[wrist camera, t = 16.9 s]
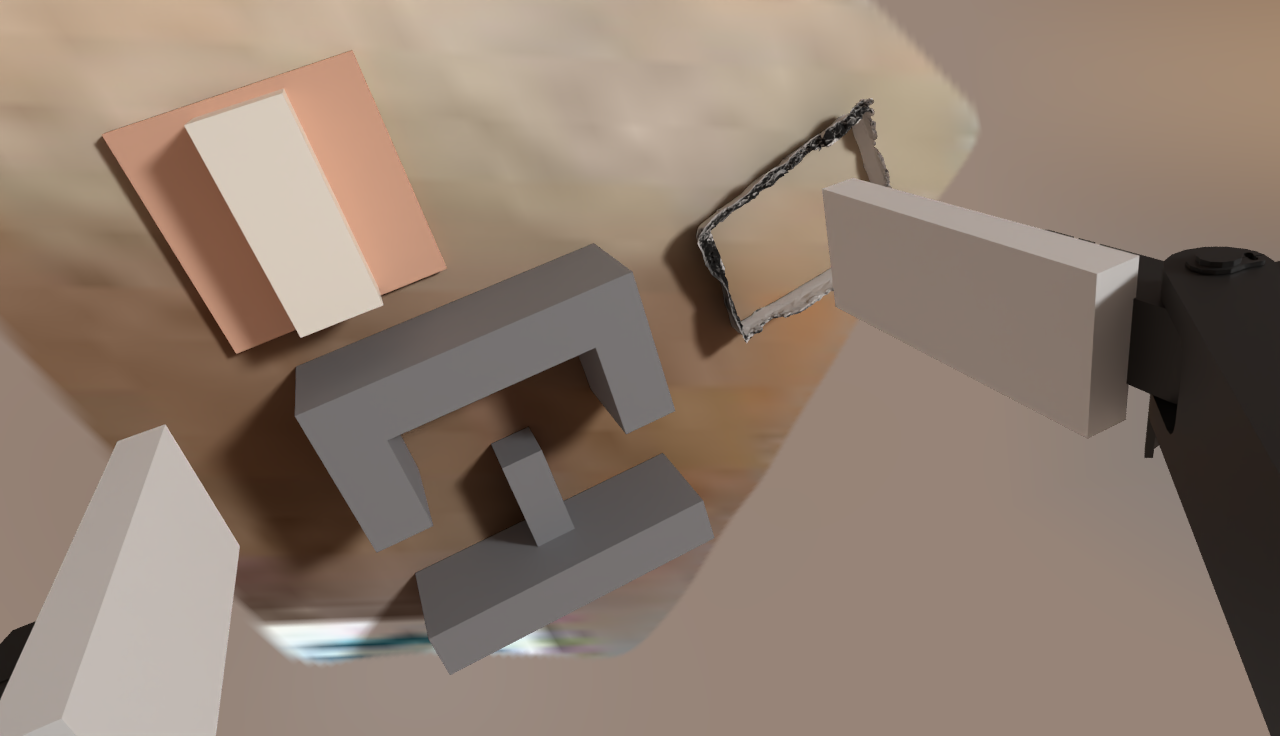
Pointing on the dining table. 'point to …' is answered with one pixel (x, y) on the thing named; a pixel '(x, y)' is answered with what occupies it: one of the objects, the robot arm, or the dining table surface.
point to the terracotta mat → (350, 161)
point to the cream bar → (286, 210)
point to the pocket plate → (507, 448)
